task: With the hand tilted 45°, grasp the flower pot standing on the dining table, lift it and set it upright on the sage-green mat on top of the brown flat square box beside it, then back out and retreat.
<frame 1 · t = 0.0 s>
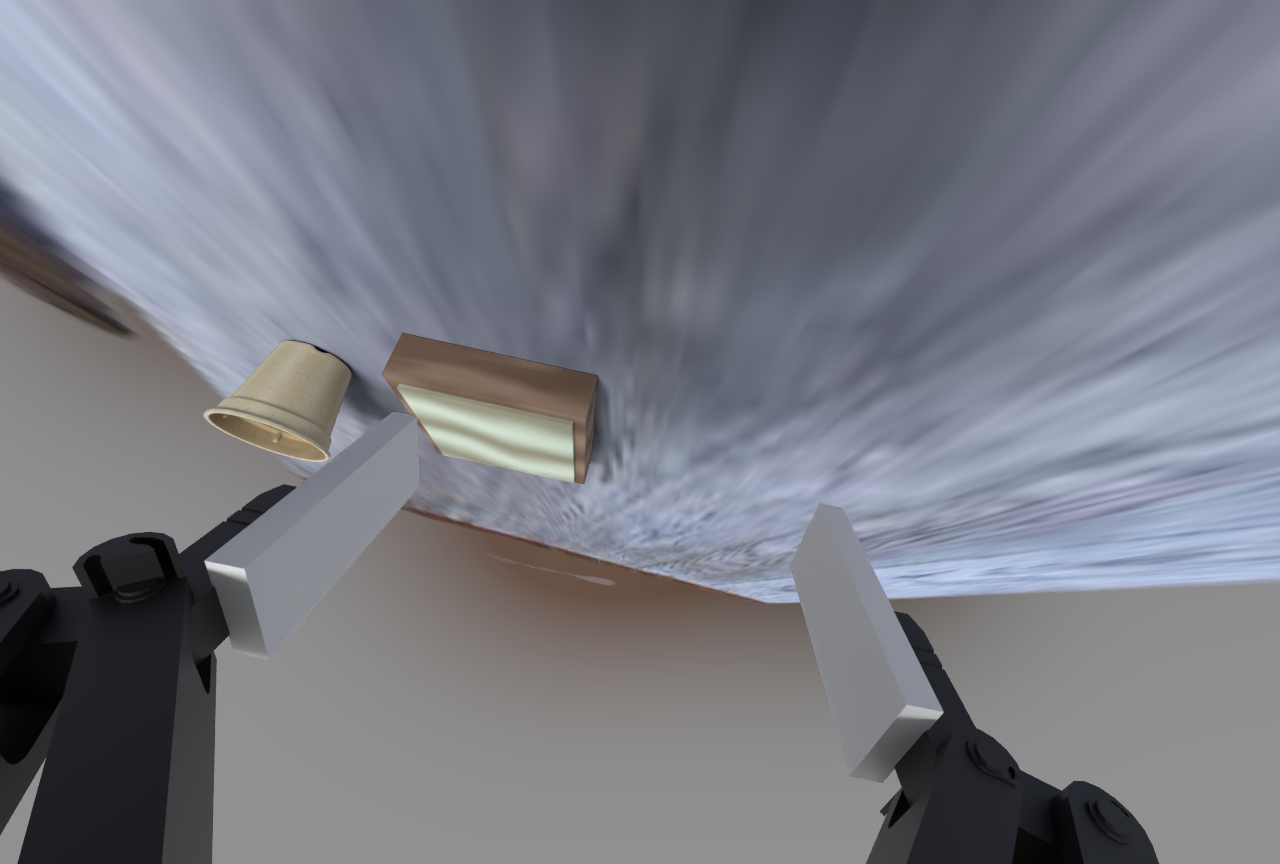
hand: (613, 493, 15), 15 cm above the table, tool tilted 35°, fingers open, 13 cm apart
flower pot: (317, 357, 45), on the table
brown flat square box: (512, 401, 45), on the table
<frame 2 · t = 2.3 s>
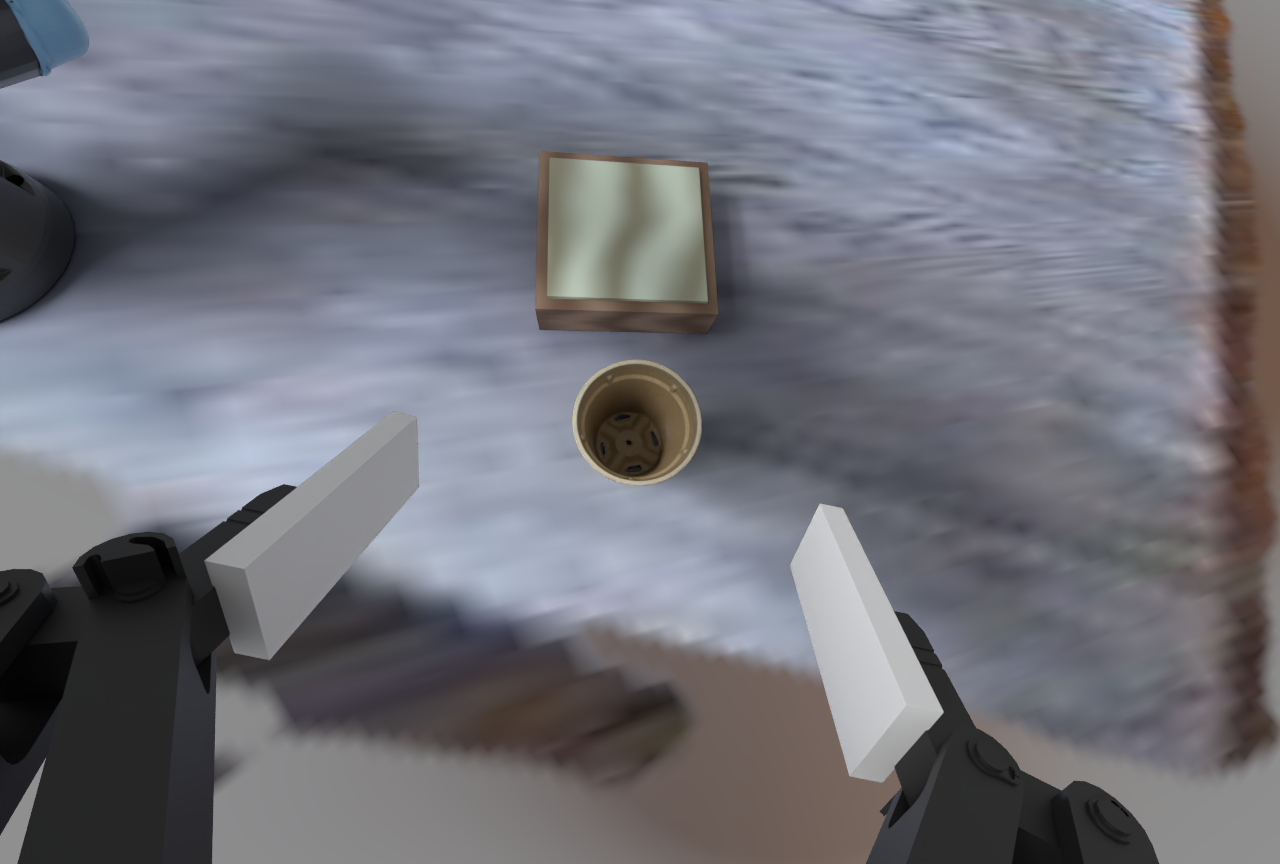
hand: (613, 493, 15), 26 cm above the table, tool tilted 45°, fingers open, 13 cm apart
flower pot: (627, 445, 42), on the table
brown flat square box: (623, 256, 47), on the table
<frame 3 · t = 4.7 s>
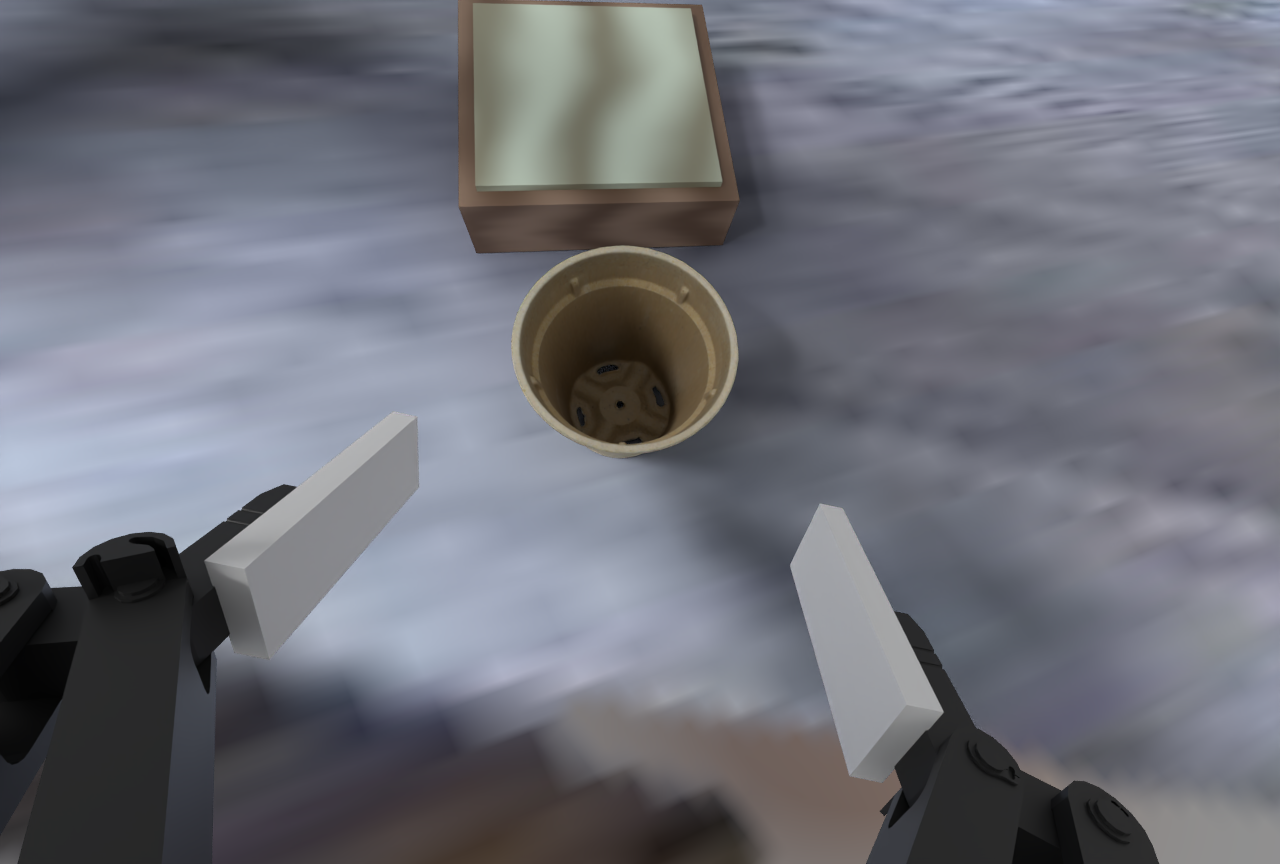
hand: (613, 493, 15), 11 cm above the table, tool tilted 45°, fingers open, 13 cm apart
flower pot: (618, 410, 28), on the table
brown flat square box: (593, 150, 33), on the table
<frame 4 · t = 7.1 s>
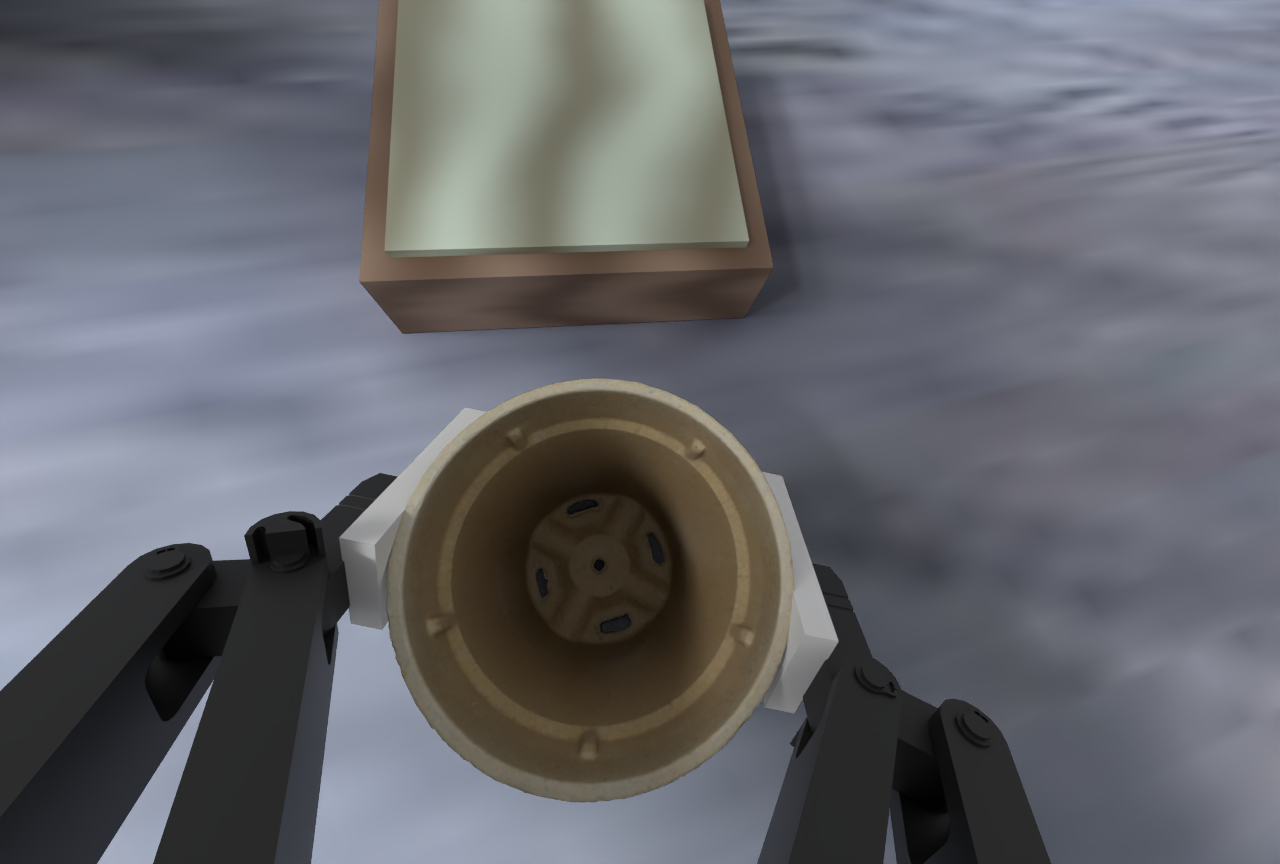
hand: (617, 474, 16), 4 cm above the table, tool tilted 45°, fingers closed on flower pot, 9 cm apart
flower pot: (597, 567, 19), on the table, touching gripper
brown flat square box: (570, 186, 24), on the table
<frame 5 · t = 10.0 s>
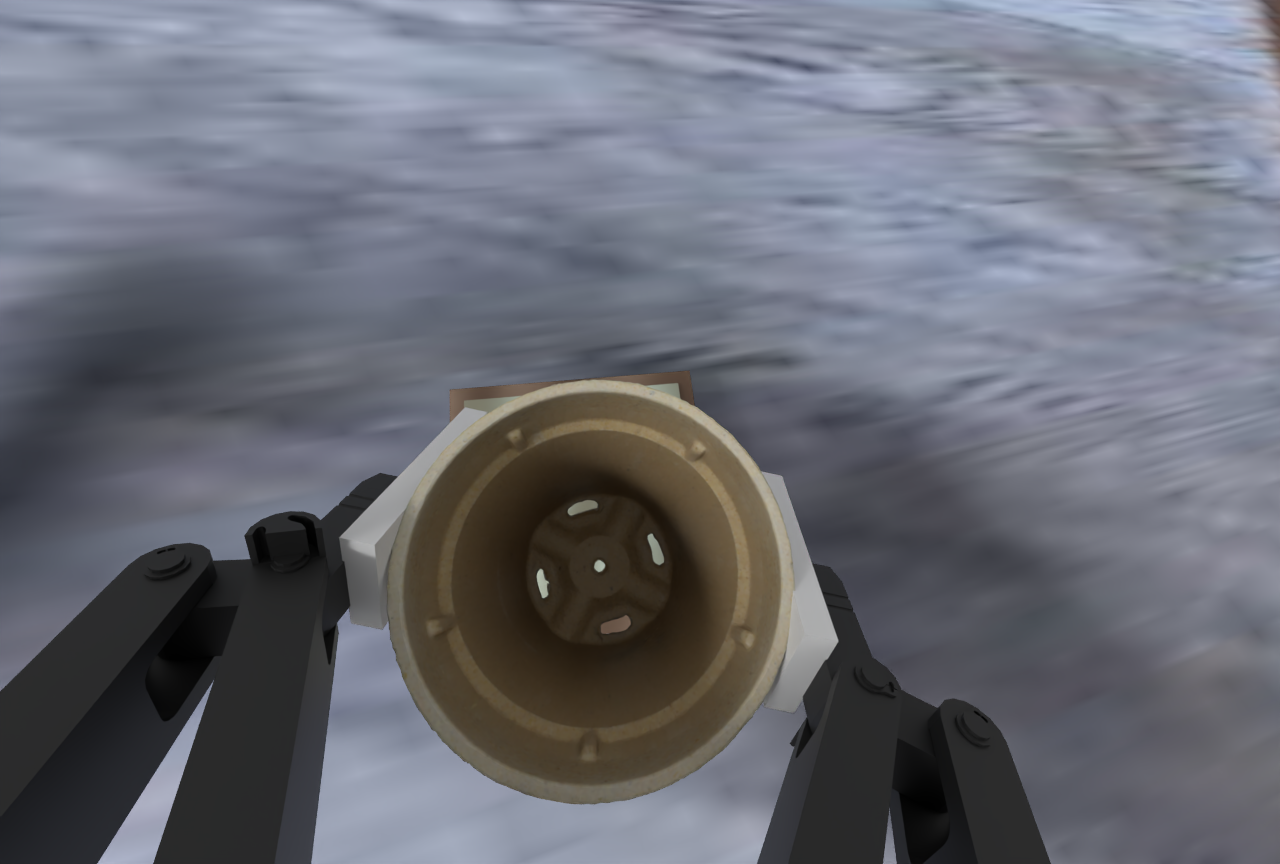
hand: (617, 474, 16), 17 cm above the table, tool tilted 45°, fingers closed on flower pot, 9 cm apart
flower pot: (597, 568, 19), point 13 cm above the table, touching gripper
brown flat square box: (585, 506, 33), on the table
when the fingers open (10 cm above the table, at t = 12.7 s): flower pot drops 1 cm, resting on brown flat square box.
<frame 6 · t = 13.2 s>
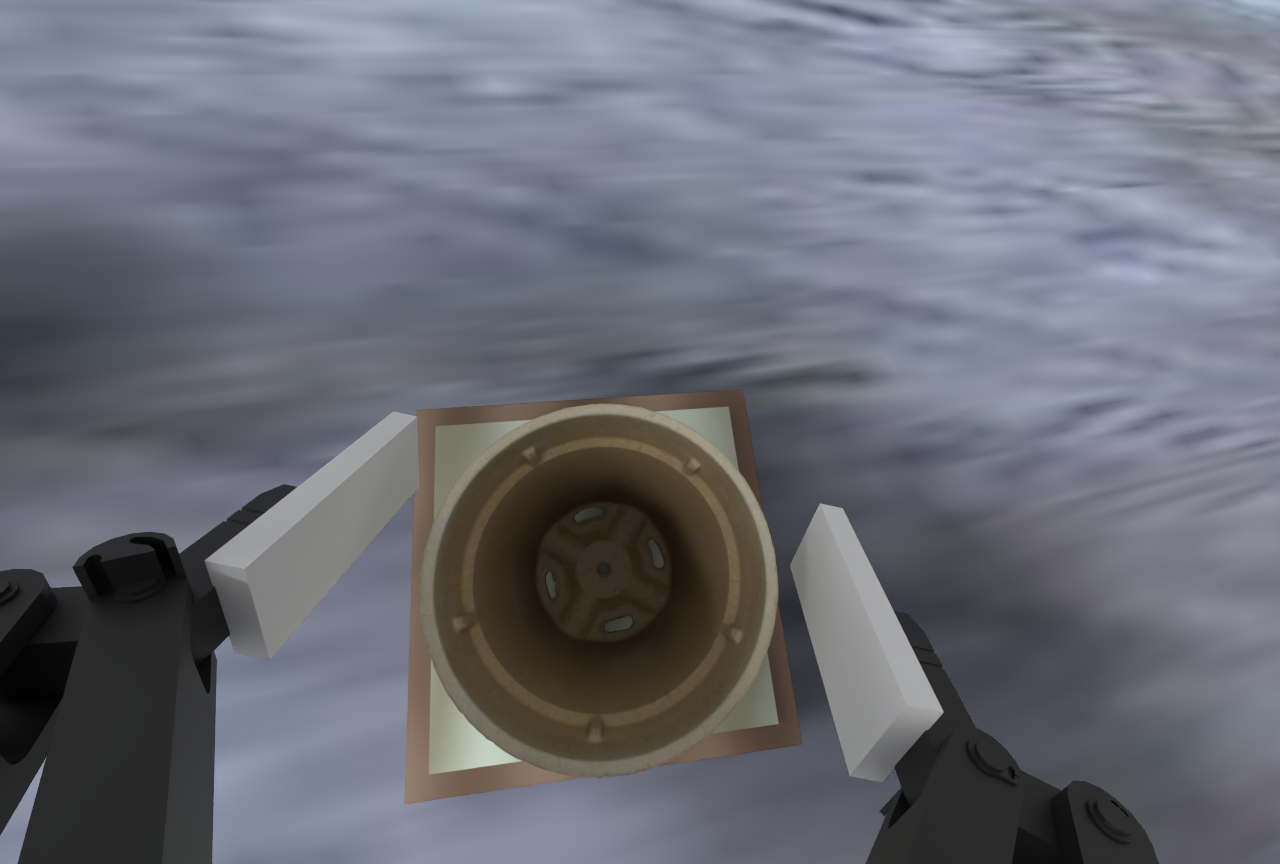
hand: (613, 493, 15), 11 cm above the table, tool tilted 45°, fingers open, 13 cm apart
flower pot: (602, 570, 21), point 4 cm above the table, touching brown flat square box
brown flat square box: (597, 567, 25), on the table
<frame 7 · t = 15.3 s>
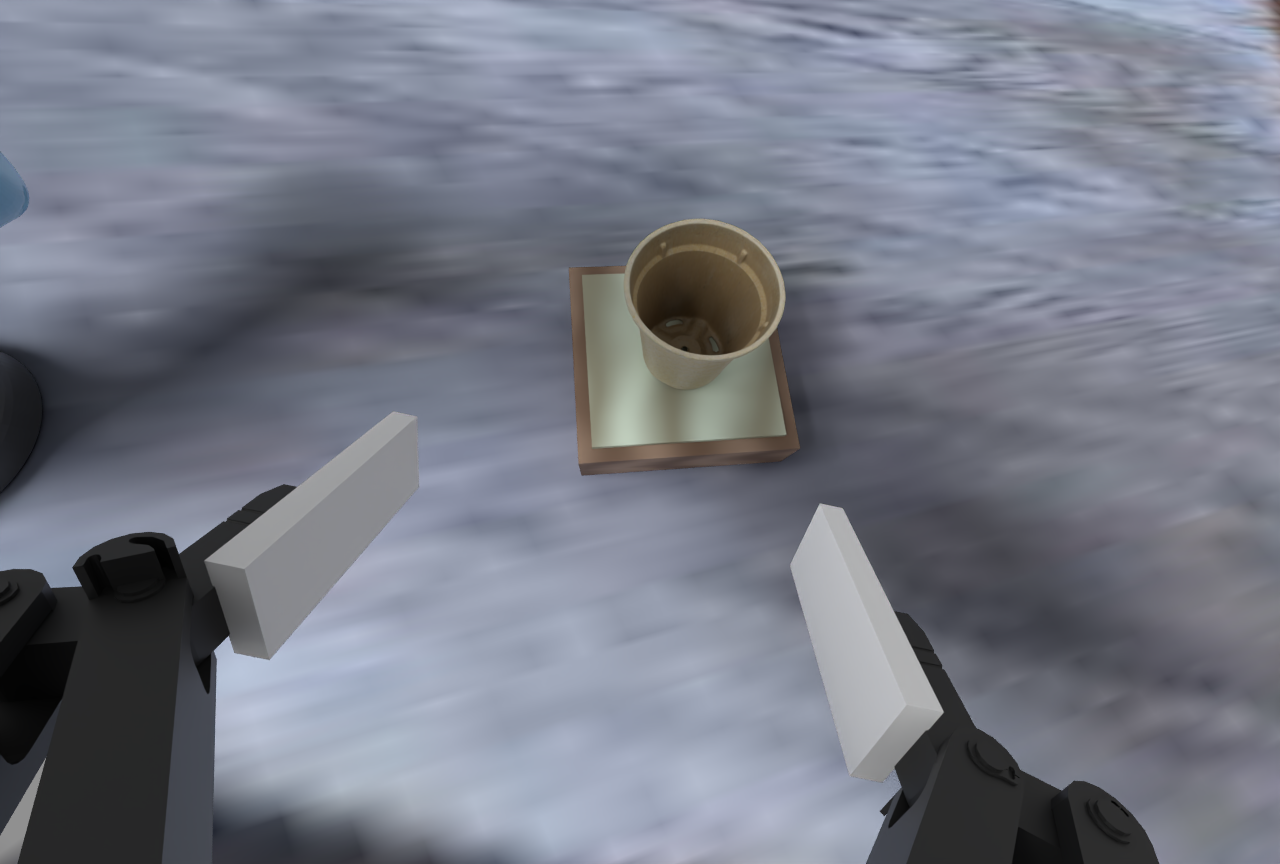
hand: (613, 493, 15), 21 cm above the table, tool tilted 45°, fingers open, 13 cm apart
flower pot: (682, 354, 35), point 4 cm above the table, touching brown flat square box
brown flat square box: (672, 375, 40), on the table
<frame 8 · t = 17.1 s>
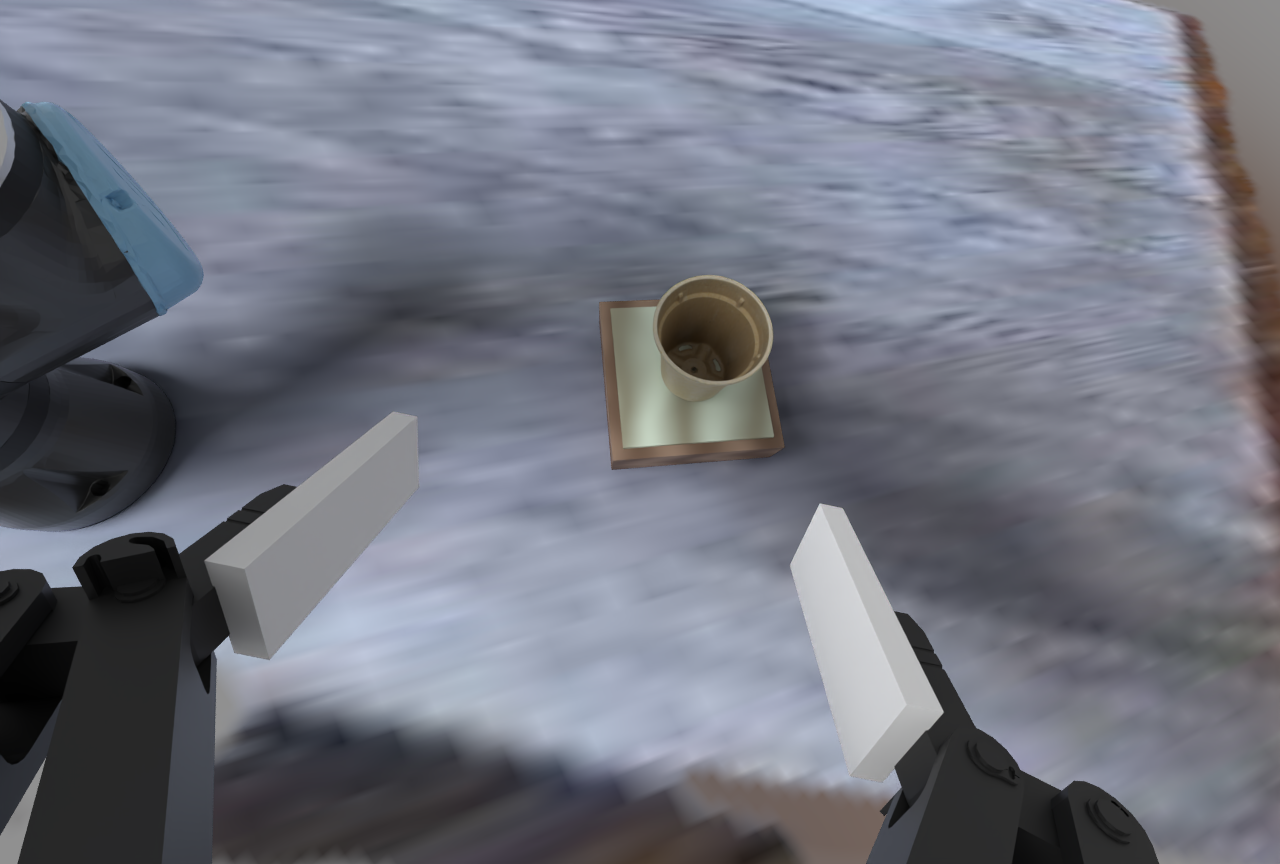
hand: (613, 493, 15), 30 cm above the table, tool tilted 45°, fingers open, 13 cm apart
flower pot: (691, 373, 45), point 4 cm above the table, touching brown flat square box
brown flat square box: (682, 387, 49), on the table
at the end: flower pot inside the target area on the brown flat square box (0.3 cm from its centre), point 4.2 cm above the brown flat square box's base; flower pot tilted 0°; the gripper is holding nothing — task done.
